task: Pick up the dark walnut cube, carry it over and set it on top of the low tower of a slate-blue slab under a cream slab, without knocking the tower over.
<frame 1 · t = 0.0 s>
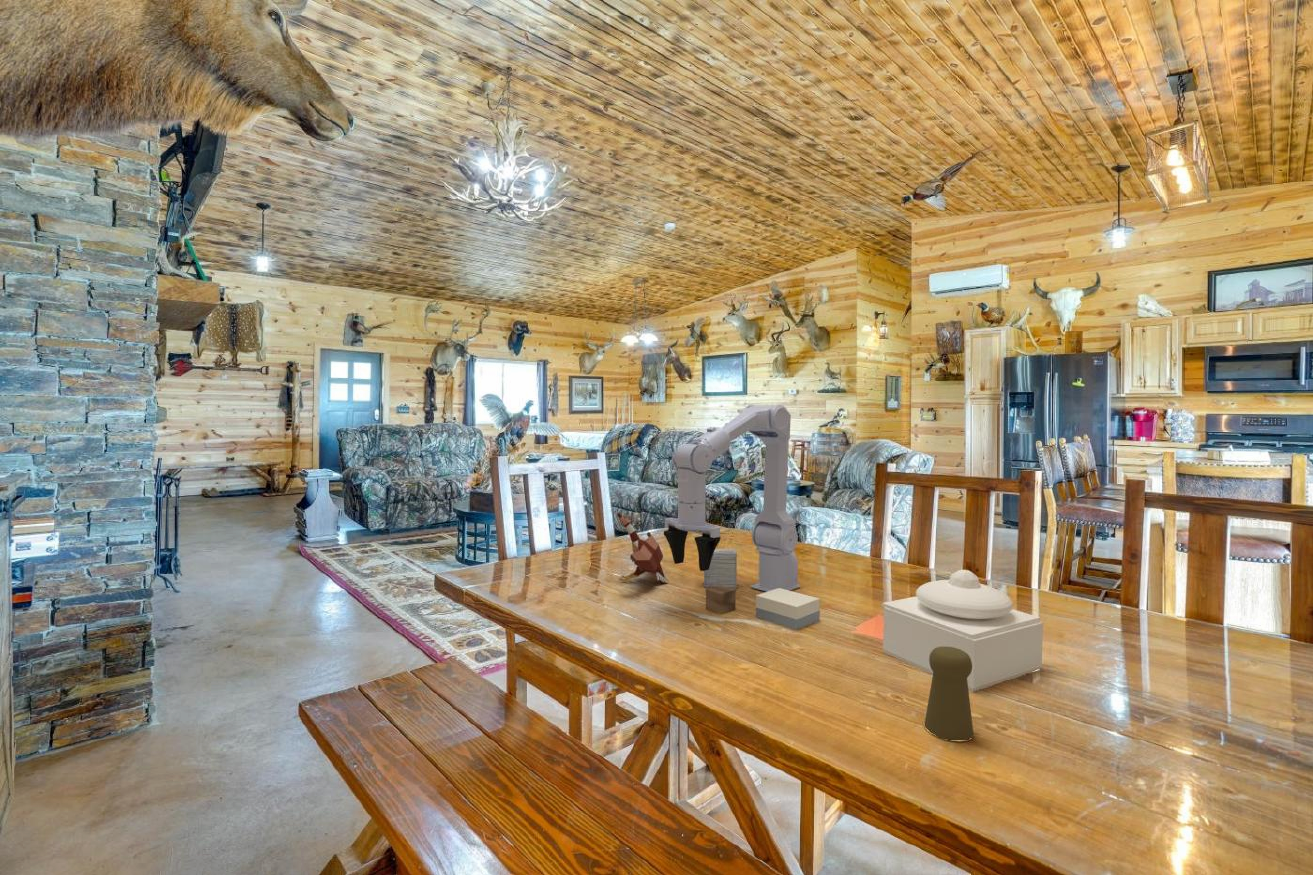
hand: (691, 566, 129), 10 cm above the table, tool pointing down, fingers open, 7 cm apart
tower top block: (787, 608, 127), point 2 cm above the table
dark olive pawn: (948, 731, 83), on the table
white saucer-topped box: (958, 662, 106), on the table
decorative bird: (642, 582, 154), on the table
walnut cube: (720, 609, 133), on the table
gray wood grain block: (720, 586, 150), on the table
tower base block: (787, 621, 127), on the table
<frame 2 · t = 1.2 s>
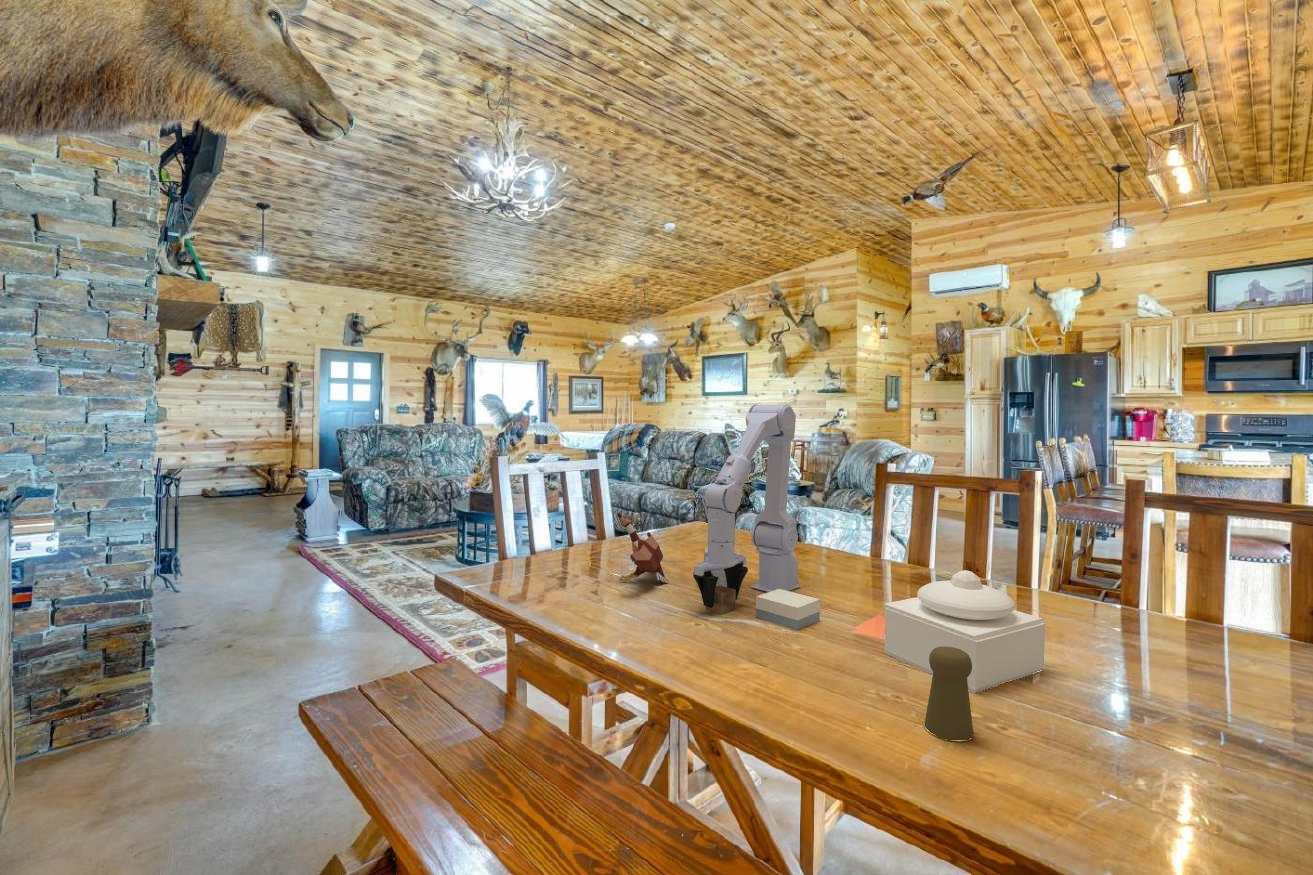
hand: (720, 602, 133), 1 cm above the table, tool pointing down, fingers open, 7 cm apart
tower top block: (787, 609, 127), point 2 cm above the table, touching tower base block
tower base block: (787, 621, 127), on the table, touching tower top block
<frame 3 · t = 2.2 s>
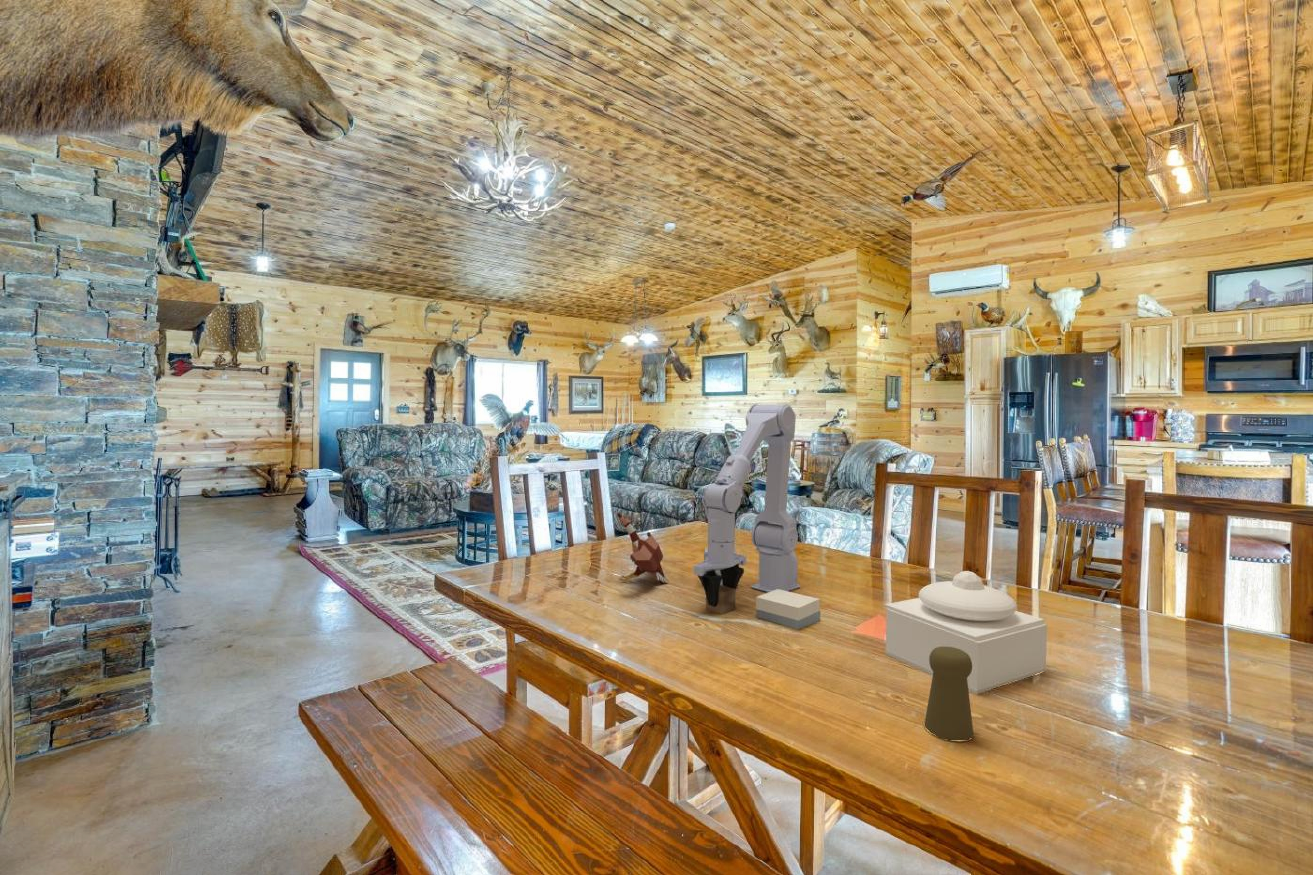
hand: (720, 602, 133), 1 cm above the table, tool pointing down, fingers closed on walnut cube, 4 cm apart
tower top block: (787, 610, 127), point 2 cm above the table
walnut cube: (720, 609, 133), on the table, touching gripper
tower base block: (788, 621, 127), on the table
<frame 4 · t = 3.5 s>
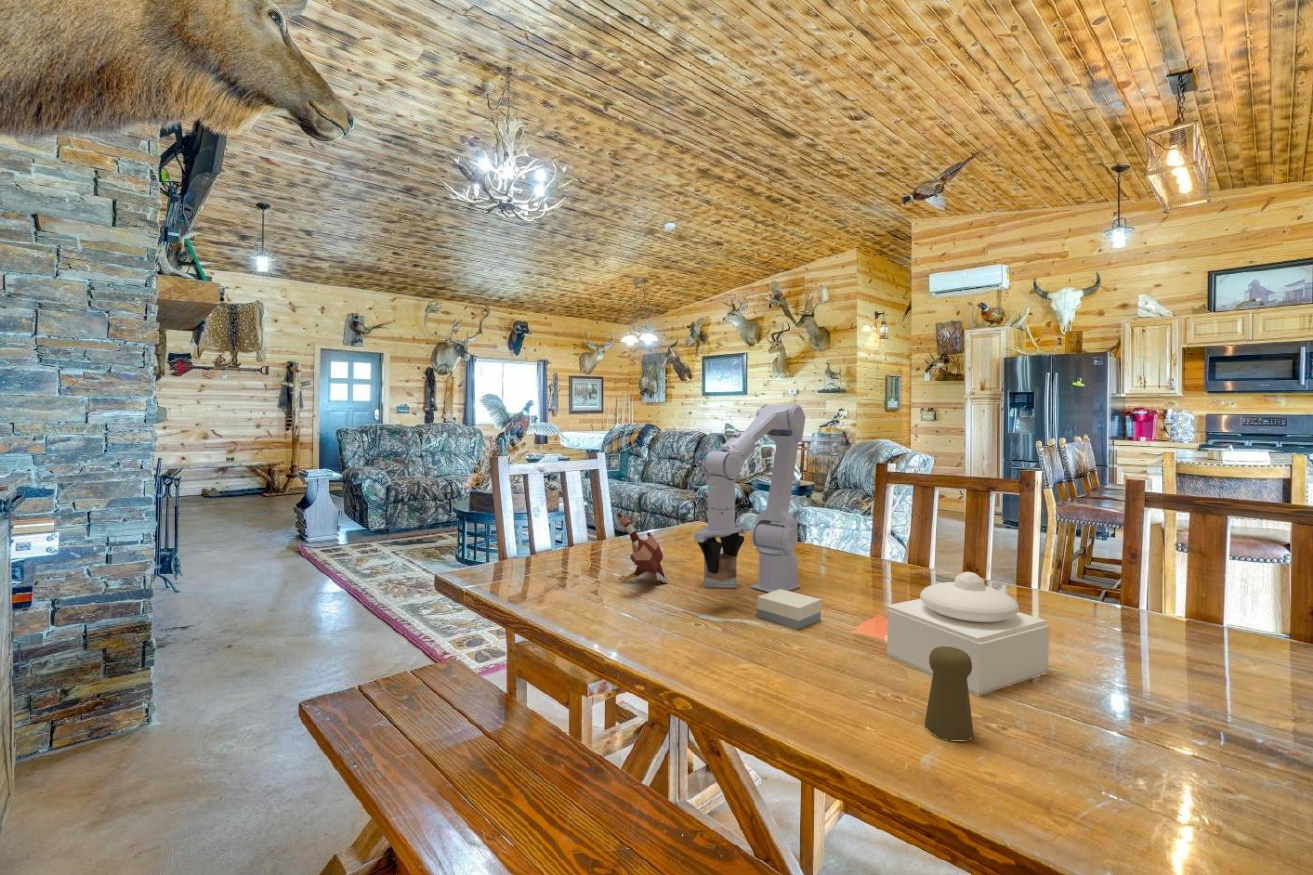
hand: (721, 570, 132), 8 cm above the table, tool pointing down, fingers closed on walnut cube, 4 cm apart
tower top block: (789, 610, 127), point 2 cm above the table, touching tower base block
walnut cube: (720, 577, 132), point 7 cm above the table, touching gripper
tower base block: (788, 621, 127), on the table, touching tower top block
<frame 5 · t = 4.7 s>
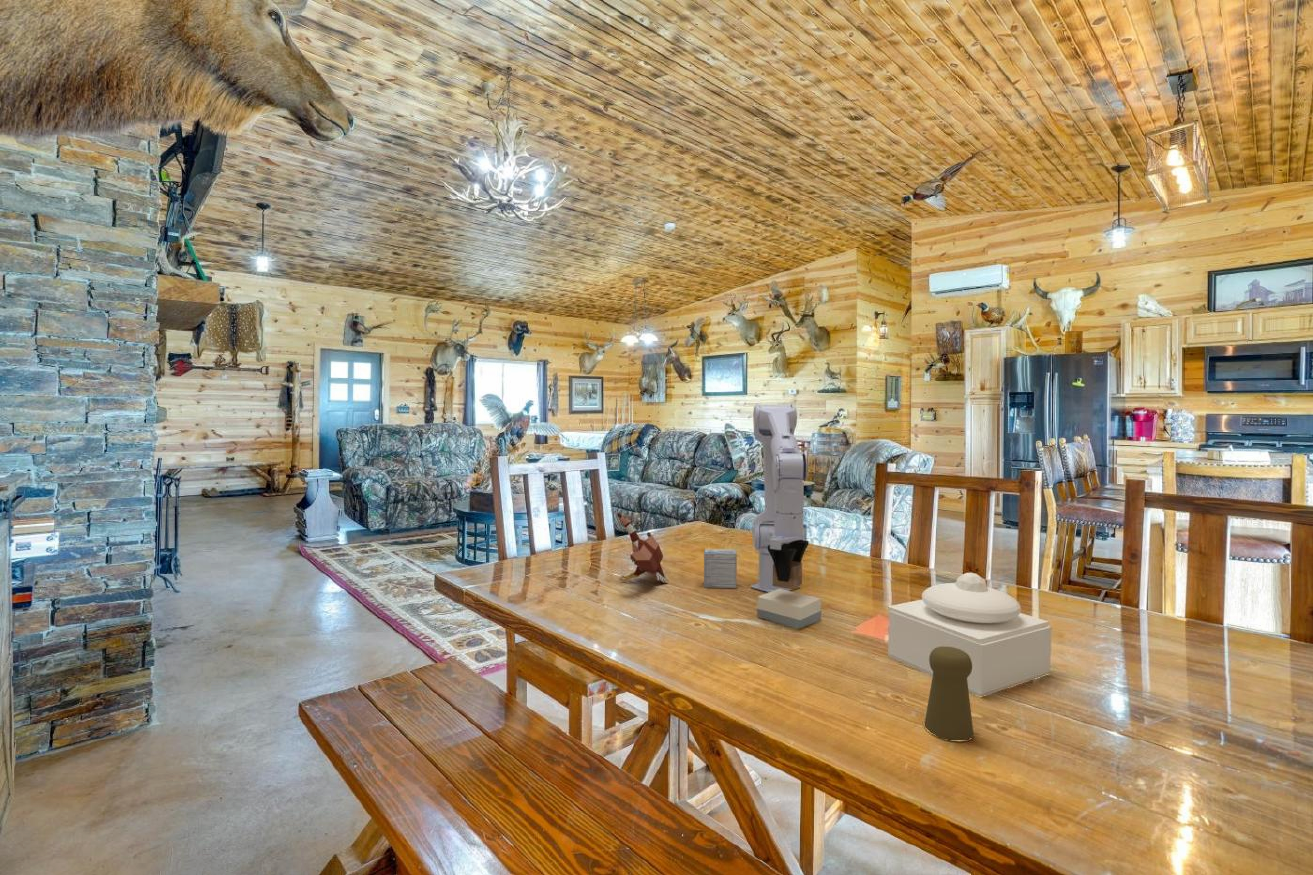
hand: (788, 578, 127), 8 cm above the table, tool pointing down, fingers closed on walnut cube, 4 cm apart
walnut cube: (787, 585, 127), point 7 cm above the table, touching gripper
when the fingers open (7 cm above the table, at t = 5.7 s): walnut cube drops 2 cm, point 4 cm above the table.
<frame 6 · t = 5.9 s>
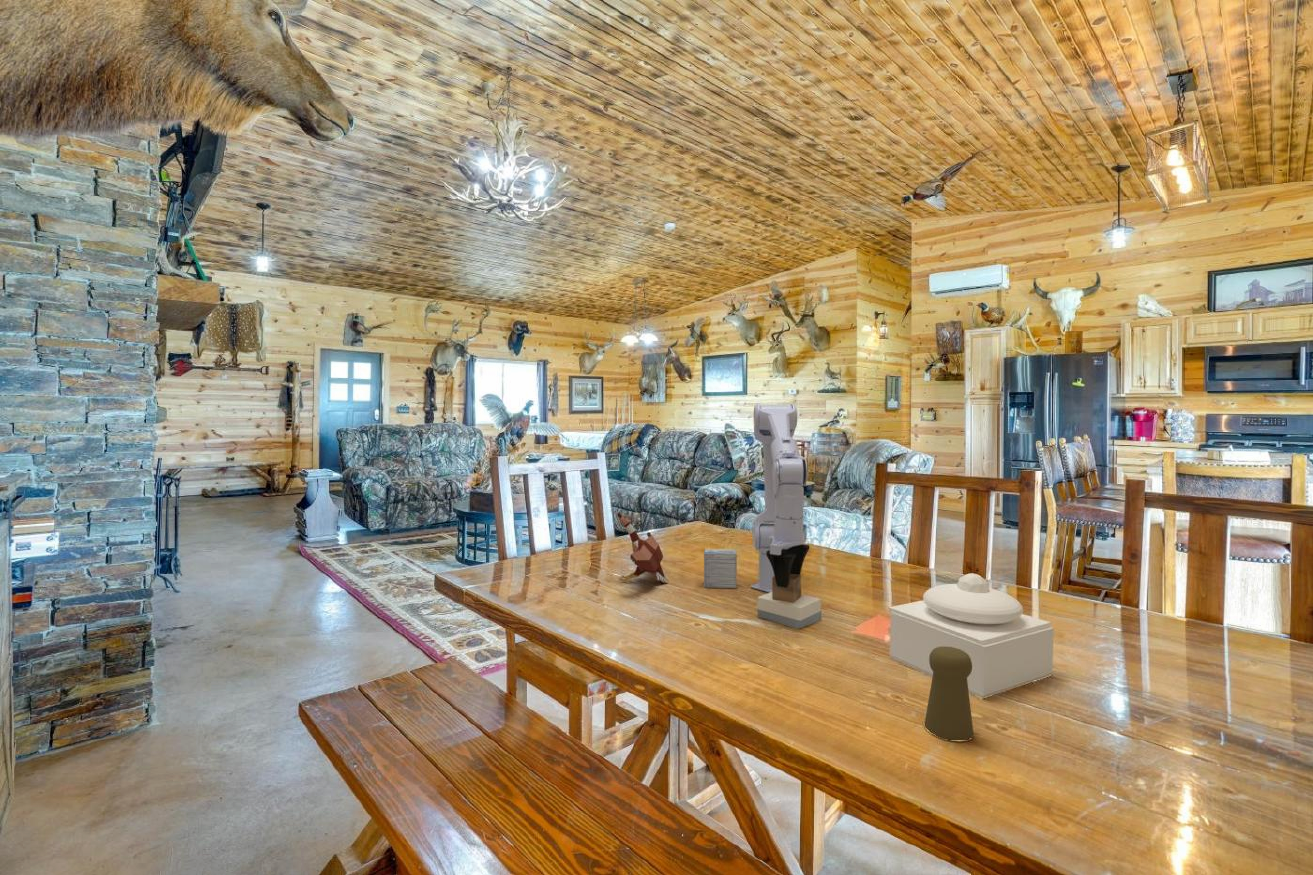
hand: (787, 582, 127), 7 cm above the table, tool pointing down, fingers open, 6 cm apart
tower top block: (788, 610, 127), point 2 cm above the table
walnut cube: (786, 597, 127), point 4 cm above the table
tower base block: (789, 621, 127), on the table
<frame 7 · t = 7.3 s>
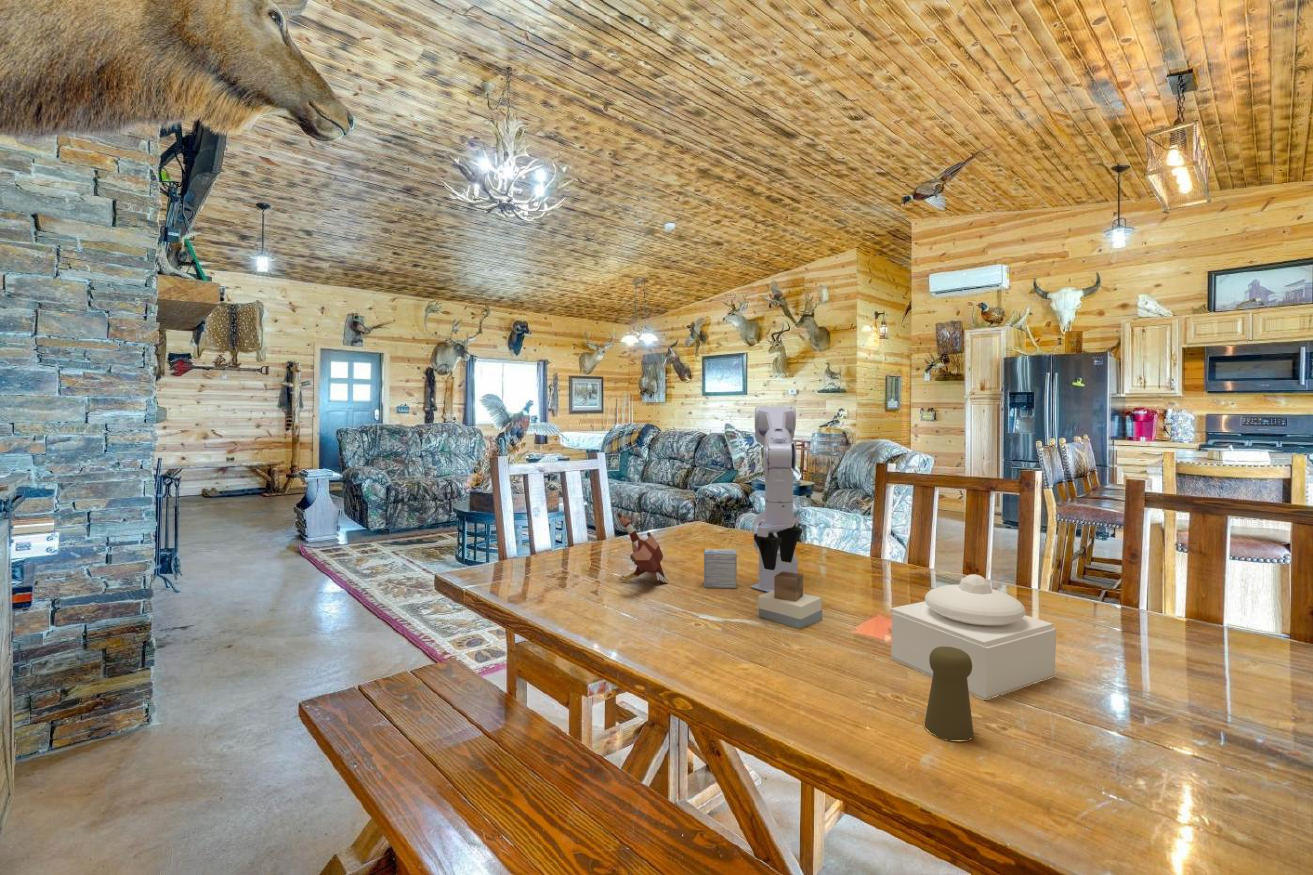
hand: (778, 565, 129), 10 cm above the table, tool pointing down, fingers open, 7 cm apart
tower top block: (789, 608, 127), point 2 cm above the table, touching tower base block
tower base block: (790, 620, 128), on the table, touching tower top block
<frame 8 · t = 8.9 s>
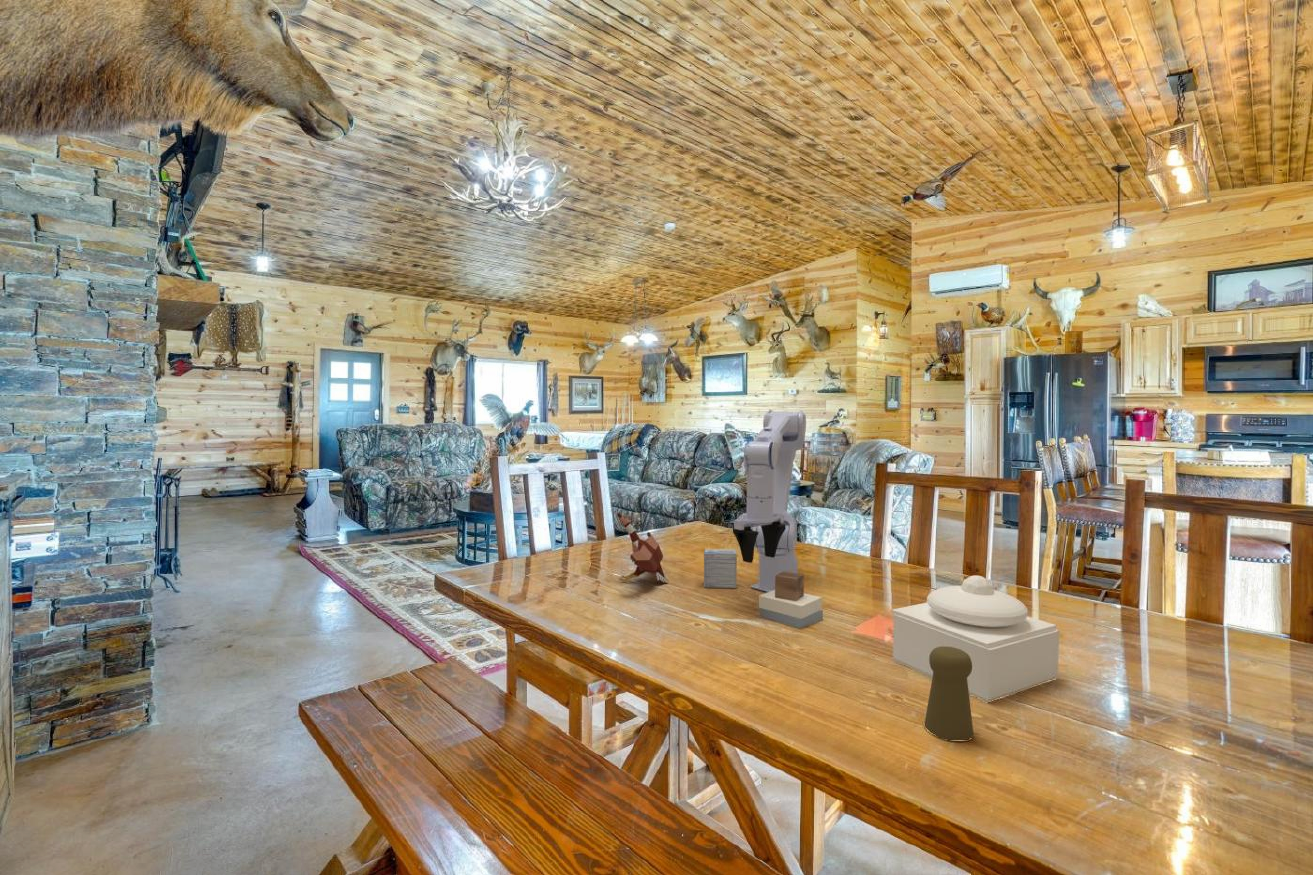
hand: (759, 559, 134), 10 cm above the table, tool pointing down, fingers open, 7 cm apart
tower top block: (790, 608, 128), point 2 cm above the table, touching tower base block, walnut cube
walnut cube: (789, 596, 128), point 4 cm above the table, touching tower top block
at the end: walnut cube 0.4 cm off-centre on the tower top block, point 2.5 cm above the tower top block's base; tower top block tilted 0°; tower top block moved 1.2 cm from its start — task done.
